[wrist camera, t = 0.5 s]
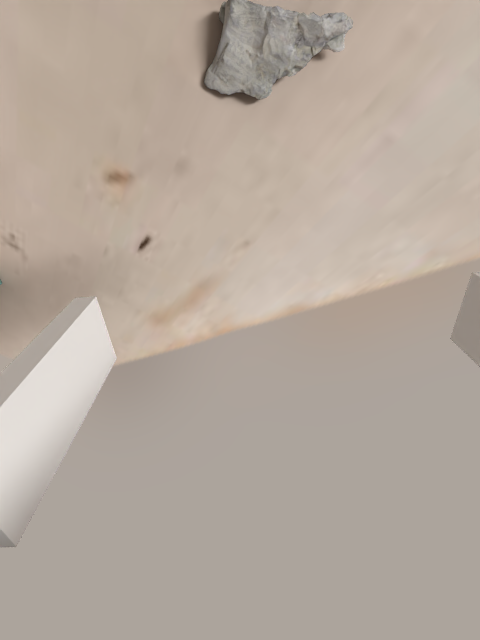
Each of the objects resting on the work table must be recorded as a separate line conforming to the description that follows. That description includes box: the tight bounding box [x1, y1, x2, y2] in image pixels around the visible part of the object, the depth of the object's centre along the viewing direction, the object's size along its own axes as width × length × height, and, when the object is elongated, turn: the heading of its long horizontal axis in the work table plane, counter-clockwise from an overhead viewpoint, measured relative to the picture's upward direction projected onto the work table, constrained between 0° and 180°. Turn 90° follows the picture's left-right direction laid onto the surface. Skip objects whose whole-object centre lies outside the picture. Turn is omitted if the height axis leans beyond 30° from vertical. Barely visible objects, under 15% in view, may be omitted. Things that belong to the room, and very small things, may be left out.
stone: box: [204, 0, 353, 100], centre depth 28 cm, size 6×12×4 cm, turn 85°
